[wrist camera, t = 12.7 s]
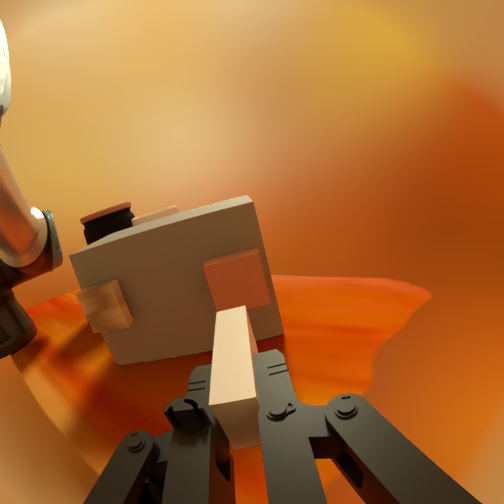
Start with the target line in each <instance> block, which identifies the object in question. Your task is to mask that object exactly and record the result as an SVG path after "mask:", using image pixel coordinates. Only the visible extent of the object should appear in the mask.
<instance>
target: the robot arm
mask: <svg viewBox="0 0 504 504" xmlns="http://www.w3.org/2000/svg"><path fill="white" fill-rule="evenodd" d="M10 97H11V72H10V67H9V52H8V46H7V41H6V36H5V31H4V28H3V25H2V22H1V19H0V127H1V123H2V116H3V115H4V114H5V113H6V111H7V109H8V106H9V103H10ZM62 262H63V256H62V251H61V247H60V243H59V239H58V235H57V231H56V227H55V223H54V218H53V215H52V212H51V211H49V210H47V211H42V212H40V211H39V210H38V209H36V208H35V207H32V206H30V205H28V204H27V202H26V200H25V198H24V196H23V194H22V192H21V190H20V188H19V186H18V185H17V182H16V180H15V178H14V176H13V174H12V172H11V170H10V167H9V165H8V163H7V160H6V158H5V156H4V153H3V151H2V149H1V146H0V359H1V358H4V357H6V356H8V355H10V354H12V353H14V352H15V351H17V350H18V349H20V348H21V347H23V346H24V345H25V344H26V343H28V342H29V341H30V340H31V339H32V338H33V336H34V335H35V334H36V332H37V328H36V326H35V324H34V322H33V320H32V319H31V318H30V317H29V316H28V314H27V313H26V312H25V310H24V309H23V308H22V307H21V306H20V304H19V303H18V302H17V300H16V298H15V296H14V293H13V291H12V288H13V287H15V286H17V285H19V284H21V283H23V282H26V281H28V280H30V279H33V278H35V277H37V276H40V275H42V274H44V273H47V272H51V271H53V270H54V269H55V268H57V267H59V266H61V264H62ZM164 414H165V415H166V417H167V418H168V420H169V421H170V423H171V424H172V426H173V427H174V428H173V430H171V431H169V432H166V433H163V434H160V435H157V436H154V437H152V435H151V434H150V433H149V432H146V431H142V430H137V431H134V432H131V433H129V434H128V435H126V436H125V437H124V438H123V439H122V441H121V442H120V444H119V446H118V447H117V449H116V451H115V452H114V454H113V455H112V457H111V459H110V460H109V462H108V464H107V465H106V467H105V469H104V470H103V472H102V474H101V475H100V477H99V479H98V480H97V482H96V483H95V485H94V487H93V488H92V490H91V492H90V493H89V495H88V497H87V498H86V500H85V502H84V504H236V501H235V482H234V461H233V458H232V456H231V454H230V452H229V443H230V445H231V447H232V449H240V448H247V447H253V446H258V445H261V446H262V454H263V462H264V470H265V478H266V485H267V493H268V500H269V504H327V501H326V497H325V494H324V490H323V487H322V484H321V480H320V477H319V473H318V470H317V466H316V463H315V459H327V458H331V460H332V461H333V462H334V464H335V465H336V466H337V468H338V469H339V470H340V472H341V473H342V474H343V476H344V477H345V478H346V479H347V481H348V482H349V483H350V485H351V486H352V487H353V488H354V490H355V491H356V492H357V493H358V495H359V496H360V497H361V498H362V500H363V501H364V502H365V503H366V504H482V503H480V502H479V501H478V500H477V499H476V498H474V497H473V496H472V495H471V494H470V493H469V492H467V491H466V490H465V489H464V488H463V487H461V486H460V485H459V484H458V483H457V482H456V481H454V480H453V479H452V478H451V477H450V476H449V475H447V474H446V473H445V472H444V471H443V470H442V469H440V468H439V467H438V466H437V465H436V464H435V463H434V462H433V461H432V460H430V459H429V458H428V457H427V456H426V455H425V454H423V452H421V451H420V450H419V449H418V448H417V447H416V446H415V445H414V444H413V443H411V442H410V441H409V440H408V439H407V438H406V437H405V436H404V435H403V434H402V433H400V432H399V431H398V430H397V429H396V428H395V427H394V426H393V425H392V424H391V423H390V422H388V421H387V420H386V419H385V418H384V417H383V416H382V415H381V414H380V413H379V412H378V411H377V410H376V409H375V408H374V407H373V406H371V405H370V404H369V403H368V402H367V401H366V400H365V399H364V398H362V397H361V396H359V395H356V394H351V393H350V394H342V395H339V396H336V397H334V398H333V399H332V400H330V401H329V402H328V404H327V405H325V406H310V405H306V404H304V403H302V402H300V401H299V400H298V399H297V398H296V396H295V393H294V389H293V386H292V383H291V379H290V376H289V372H288V369H287V366H286V362H285V359H284V355H283V354H282V353H281V352H280V351H278V350H277V349H274V350H270V351H266V352H262V353H258V349H257V345H256V342H255V338H254V335H253V331H252V328H251V324H250V321H249V317H248V313H247V310H246V306H241V307H237V308H232V309H228V310H224V311H219V312H217V314H216V324H215V335H214V346H213V358H212V364H208V365H202V366H197V367H195V369H194V370H193V372H192V373H191V374H190V379H189V385H188V392H187V396H184V397H180V398H177V399H175V400H173V401H171V402H170V403H169V404H168V405H167V406H166V408H165V410H164Z"/></svg>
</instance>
